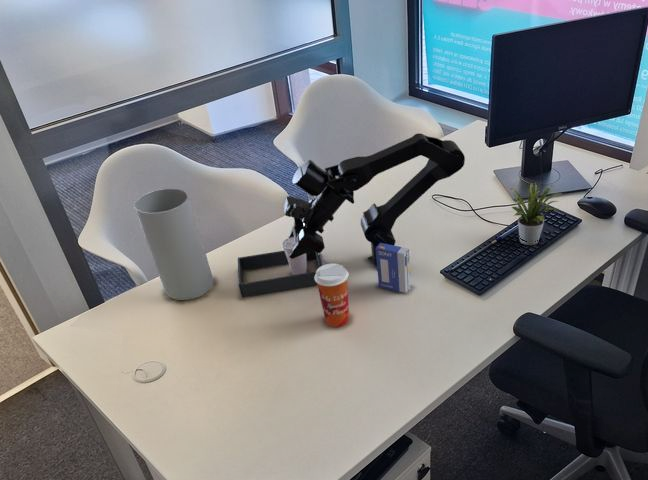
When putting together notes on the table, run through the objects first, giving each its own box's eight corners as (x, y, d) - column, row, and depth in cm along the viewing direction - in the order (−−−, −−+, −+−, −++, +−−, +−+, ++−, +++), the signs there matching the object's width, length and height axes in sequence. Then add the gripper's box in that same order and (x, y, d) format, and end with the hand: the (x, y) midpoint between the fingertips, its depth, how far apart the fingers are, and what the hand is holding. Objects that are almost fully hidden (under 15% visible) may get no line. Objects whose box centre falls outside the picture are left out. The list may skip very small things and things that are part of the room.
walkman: (378, 287, 158) (375, 247, 150) (383, 281, 160) (380, 241, 152) (406, 293, 155) (404, 252, 147) (411, 287, 157) (409, 247, 149)
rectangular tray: (322, 257, 170) (320, 244, 167) (328, 283, 160) (326, 271, 157) (240, 270, 167) (237, 257, 164) (242, 298, 157) (238, 285, 154)
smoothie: (310, 280, 161) (302, 234, 152) (285, 281, 162) (276, 234, 152) (313, 267, 166) (305, 221, 157) (289, 267, 166) (280, 221, 157)
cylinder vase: (222, 277, 164) (198, 190, 148) (199, 304, 155) (170, 215, 139) (181, 271, 167) (153, 186, 151) (156, 298, 158) (123, 210, 142)
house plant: (569, 248, 168) (577, 193, 157) (524, 260, 164) (530, 204, 153) (541, 224, 178) (547, 171, 167) (498, 235, 174) (502, 181, 164)
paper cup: (324, 333, 145) (316, 284, 135) (319, 314, 150) (311, 265, 141) (357, 326, 146) (351, 277, 137) (350, 307, 152) (344, 259, 142)
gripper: (295, 171, 155) (260, 216, 161) (303, 204, 141) (264, 253, 147) (330, 195, 161) (295, 238, 167) (341, 229, 148) (302, 275, 153)
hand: (289, 250), depth 159 cm, fingers open, 7 cm apart
